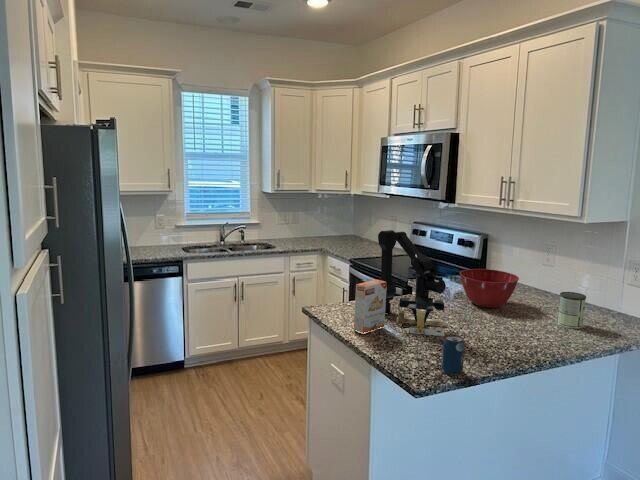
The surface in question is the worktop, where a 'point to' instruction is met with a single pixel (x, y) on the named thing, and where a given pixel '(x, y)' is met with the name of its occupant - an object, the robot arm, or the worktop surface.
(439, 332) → the bolt plate
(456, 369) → the soda can
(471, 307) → the worktop surface
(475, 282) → the mixing bowl
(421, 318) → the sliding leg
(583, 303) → the coffee can
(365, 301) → the cracker box
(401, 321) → the trammel beam
